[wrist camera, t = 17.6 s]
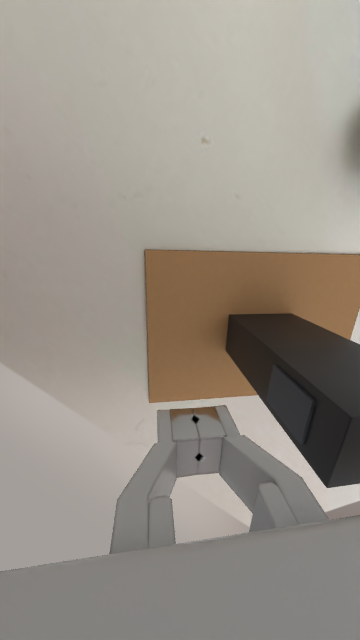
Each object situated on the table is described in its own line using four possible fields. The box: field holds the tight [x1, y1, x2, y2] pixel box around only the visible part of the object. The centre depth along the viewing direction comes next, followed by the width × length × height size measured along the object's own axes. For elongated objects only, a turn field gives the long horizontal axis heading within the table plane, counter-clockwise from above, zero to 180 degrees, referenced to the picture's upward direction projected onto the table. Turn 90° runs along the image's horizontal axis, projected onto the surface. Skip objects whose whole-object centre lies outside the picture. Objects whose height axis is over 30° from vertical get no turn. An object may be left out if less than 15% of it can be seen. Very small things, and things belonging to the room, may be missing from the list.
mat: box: [145, 250, 360, 403], centre depth 20 cm, size 20×14×1 cm
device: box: [225, 313, 360, 488], centre depth 14 cm, size 6×4×12 cm, turn 89°
